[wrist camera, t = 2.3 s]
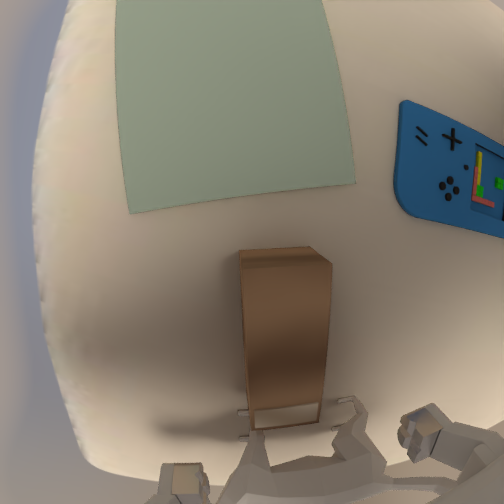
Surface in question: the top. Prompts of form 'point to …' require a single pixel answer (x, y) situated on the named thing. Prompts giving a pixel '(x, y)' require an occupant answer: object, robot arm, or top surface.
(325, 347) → the walnut block
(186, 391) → the top surface
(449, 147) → the handheld gaming device
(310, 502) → the cat figurine
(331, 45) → the rubber mat
